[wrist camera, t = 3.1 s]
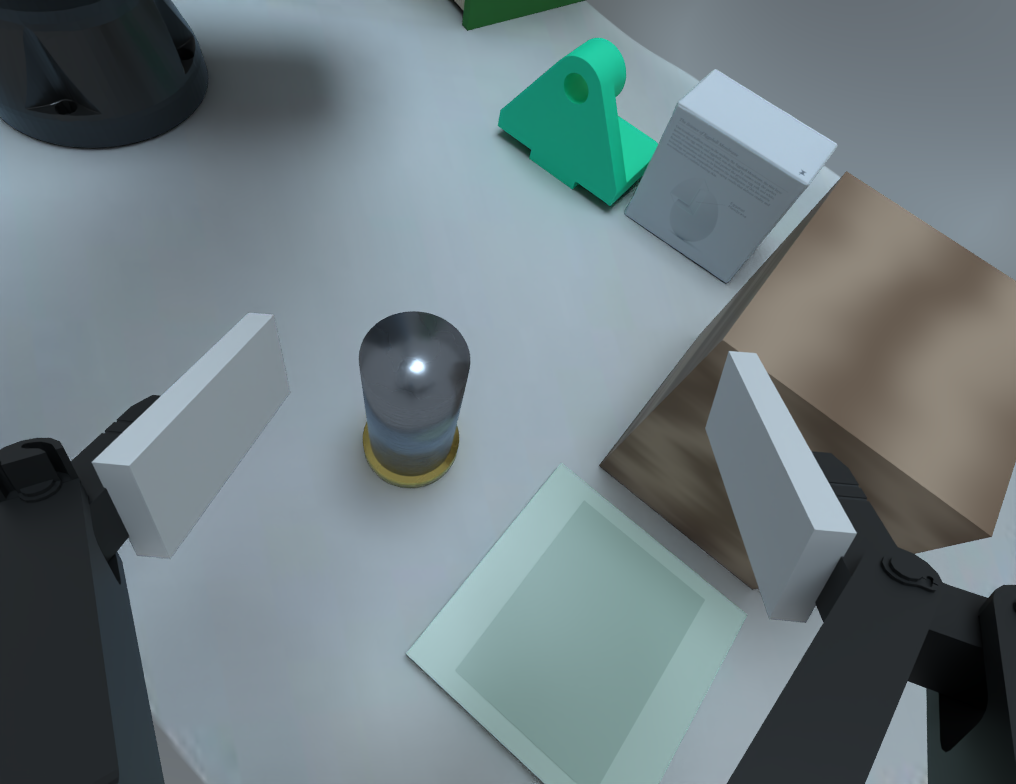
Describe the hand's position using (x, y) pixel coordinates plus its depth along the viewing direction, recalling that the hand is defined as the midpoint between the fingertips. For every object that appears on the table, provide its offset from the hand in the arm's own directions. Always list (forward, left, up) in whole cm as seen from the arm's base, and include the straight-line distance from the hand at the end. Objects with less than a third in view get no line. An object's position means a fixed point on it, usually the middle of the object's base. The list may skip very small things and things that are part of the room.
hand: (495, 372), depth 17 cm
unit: (+11, +16, -19) cm, 27 cm away
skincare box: (-1, +32, -19) cm, 38 cm away
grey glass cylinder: (-5, +2, -19) cm, 20 cm away
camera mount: (-13, +32, -20) cm, 39 cm away
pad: (+10, 0, -19) cm, 22 cm away
